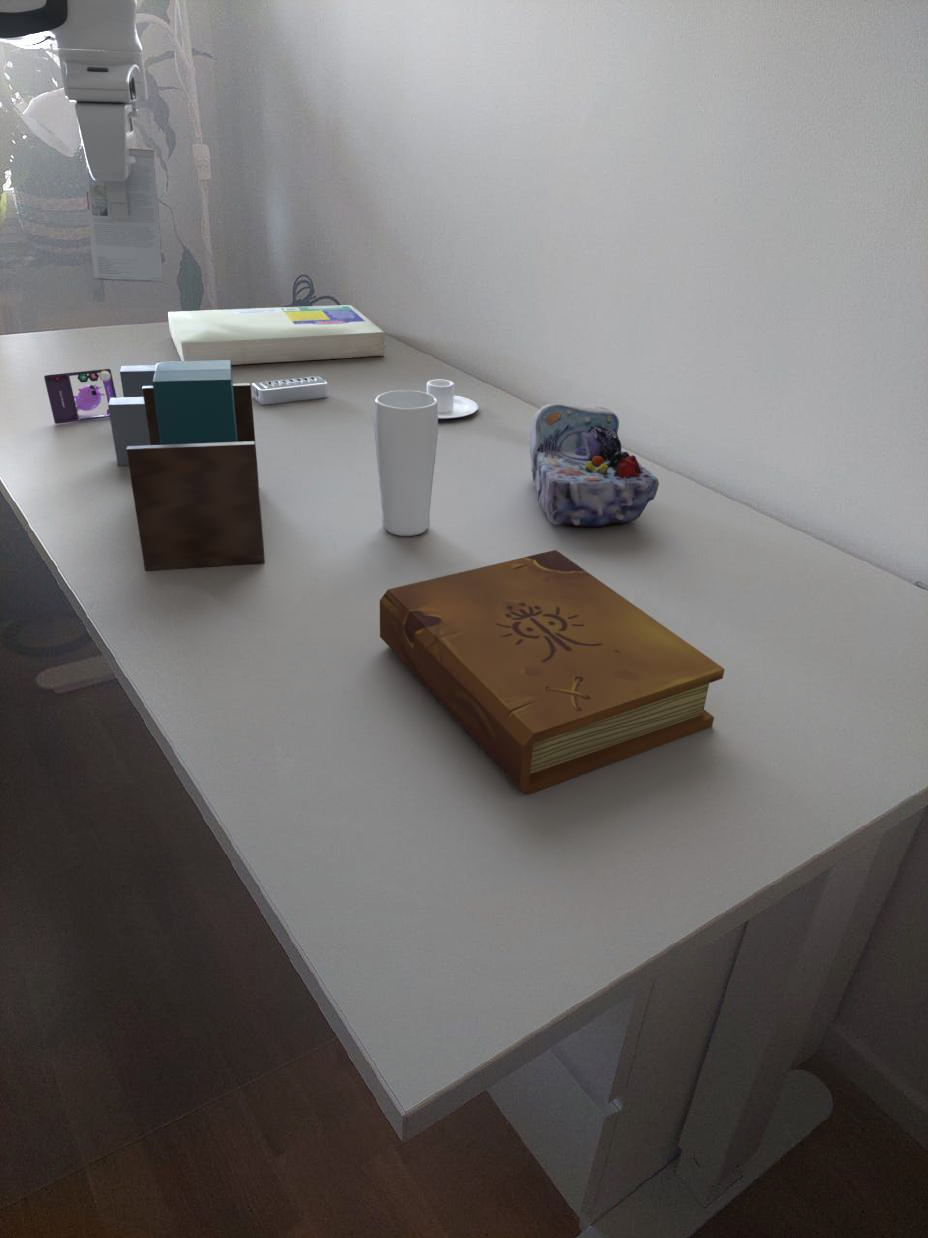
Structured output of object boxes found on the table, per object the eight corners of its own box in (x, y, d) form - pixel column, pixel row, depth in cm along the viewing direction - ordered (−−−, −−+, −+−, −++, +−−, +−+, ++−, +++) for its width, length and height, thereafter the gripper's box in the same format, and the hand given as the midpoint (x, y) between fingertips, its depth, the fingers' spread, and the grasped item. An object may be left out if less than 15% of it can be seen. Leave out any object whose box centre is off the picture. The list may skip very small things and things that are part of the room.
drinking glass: (396, 546, 102) (396, 412, 95) (365, 524, 107) (362, 395, 99) (447, 532, 106) (451, 402, 98) (414, 511, 110) (415, 386, 103)
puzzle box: (169, 336, 178) (182, 368, 159) (166, 311, 176) (178, 341, 156) (354, 327, 189) (387, 357, 170) (354, 304, 187) (387, 331, 168)
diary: (380, 647, 84) (379, 591, 81) (550, 602, 93) (555, 549, 90) (519, 798, 67) (524, 734, 64) (712, 726, 76) (725, 666, 73)
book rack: (144, 571, 95) (126, 449, 89) (157, 492, 113) (142, 385, 106) (264, 563, 98) (255, 444, 91) (259, 487, 115) (250, 382, 109)
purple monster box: (44, 374, 130) (111, 367, 134) (40, 378, 135) (105, 371, 139) (55, 423, 132) (121, 415, 136) (51, 425, 136) (115, 417, 140)
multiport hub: (328, 397, 148) (328, 382, 147) (261, 405, 143) (260, 390, 142) (318, 389, 151) (318, 375, 150) (252, 397, 147) (251, 382, 146)
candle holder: (384, 407, 144) (384, 379, 142) (443, 394, 151) (444, 367, 149) (434, 428, 137) (434, 399, 135) (493, 413, 144) (495, 385, 142)
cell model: (607, 390, 118) (676, 447, 102) (597, 469, 124) (661, 536, 108) (509, 393, 115) (564, 453, 99) (503, 475, 121) (554, 544, 105)
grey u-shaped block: (117, 465, 120) (108, 404, 116) (130, 420, 135) (121, 365, 131) (174, 463, 121) (166, 402, 117) (180, 419, 136) (173, 364, 132)
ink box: (94, 274, 115) (82, 141, 108) (162, 277, 117) (155, 148, 110) (93, 280, 112) (81, 144, 105) (163, 283, 114) (156, 150, 107)
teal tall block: (170, 513, 105) (152, 381, 98) (173, 486, 112) (157, 361, 104) (242, 509, 107) (230, 379, 99) (241, 483, 114) (230, 359, 106)
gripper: (86, 78, 112) (104, 204, 119) (62, 81, 95) (85, 227, 102) (141, 81, 113) (156, 204, 120) (127, 83, 96) (145, 228, 103)
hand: (123, 215), depth 111 cm, fingers closed on ink box, 4 cm apart
